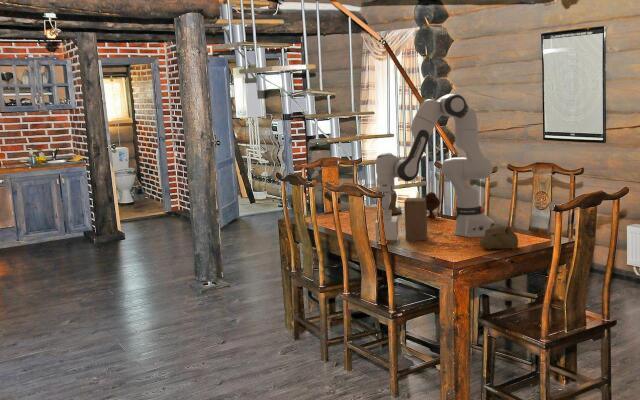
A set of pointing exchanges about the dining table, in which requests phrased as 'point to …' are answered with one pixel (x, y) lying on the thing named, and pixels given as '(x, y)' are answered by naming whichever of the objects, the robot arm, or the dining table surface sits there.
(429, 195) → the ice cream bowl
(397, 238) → the mark
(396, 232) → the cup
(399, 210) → the stone cup
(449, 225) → the dining table surface
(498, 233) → the bear head
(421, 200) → the wooden block
